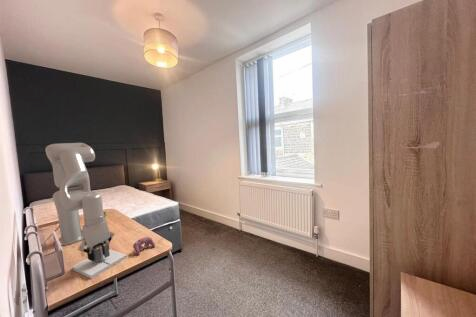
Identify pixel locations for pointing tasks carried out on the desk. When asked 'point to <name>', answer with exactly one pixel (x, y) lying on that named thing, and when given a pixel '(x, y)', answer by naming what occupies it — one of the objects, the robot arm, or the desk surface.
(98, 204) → the robot arm
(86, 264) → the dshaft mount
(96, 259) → the grey u-shaped bracket
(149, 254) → the desk surface
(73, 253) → the desk surface
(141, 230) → the desk surface
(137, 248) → the video game controller
